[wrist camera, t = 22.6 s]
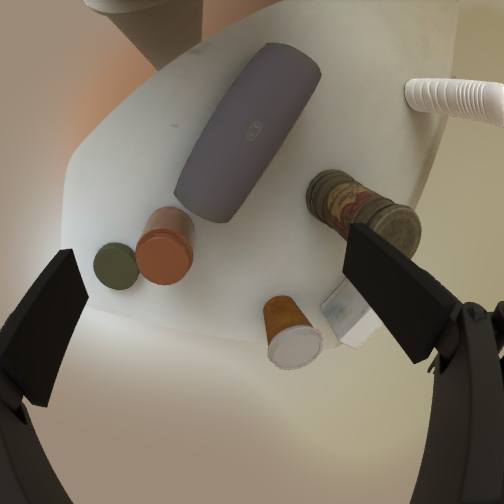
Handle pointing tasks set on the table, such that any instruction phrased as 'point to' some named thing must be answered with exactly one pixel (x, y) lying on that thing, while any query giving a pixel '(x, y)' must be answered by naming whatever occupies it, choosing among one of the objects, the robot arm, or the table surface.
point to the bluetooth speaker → (246, 131)
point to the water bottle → (458, 98)
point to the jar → (166, 246)
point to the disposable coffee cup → (290, 334)
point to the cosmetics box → (350, 315)
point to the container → (362, 210)
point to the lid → (116, 266)
